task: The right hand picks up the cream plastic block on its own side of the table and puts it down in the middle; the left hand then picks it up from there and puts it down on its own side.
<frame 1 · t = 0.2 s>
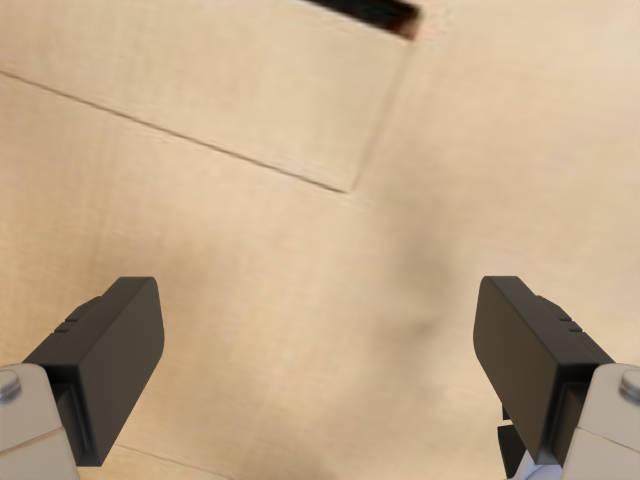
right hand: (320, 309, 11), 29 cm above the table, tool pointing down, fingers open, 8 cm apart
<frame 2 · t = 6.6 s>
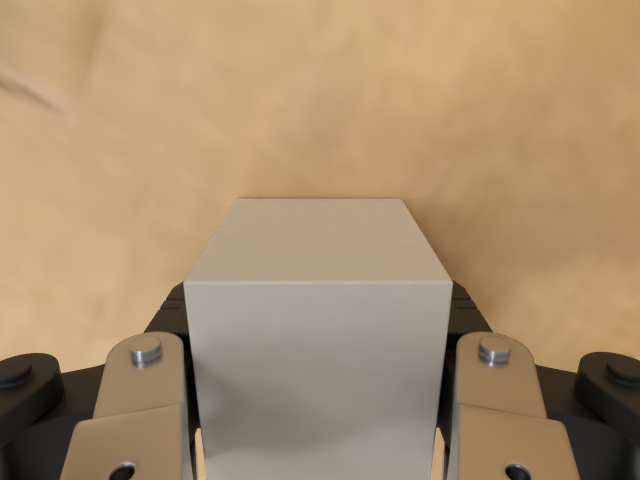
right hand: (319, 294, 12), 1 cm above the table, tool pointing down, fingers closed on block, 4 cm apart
block: (318, 285, 12), on the table, touching right hand
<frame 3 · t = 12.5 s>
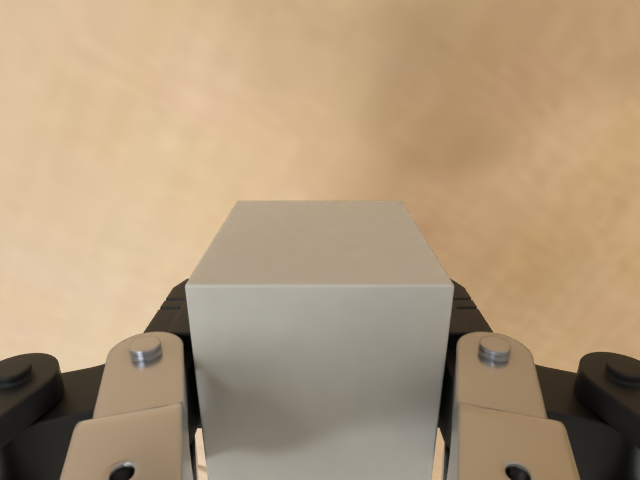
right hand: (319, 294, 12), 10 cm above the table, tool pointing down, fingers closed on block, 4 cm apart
block: (319, 287, 12), point 10 cm above the table, touching right hand
when the right hand's fingers open (1 cm above the table, at t = 18.6 s): block stays where it is, on the table.
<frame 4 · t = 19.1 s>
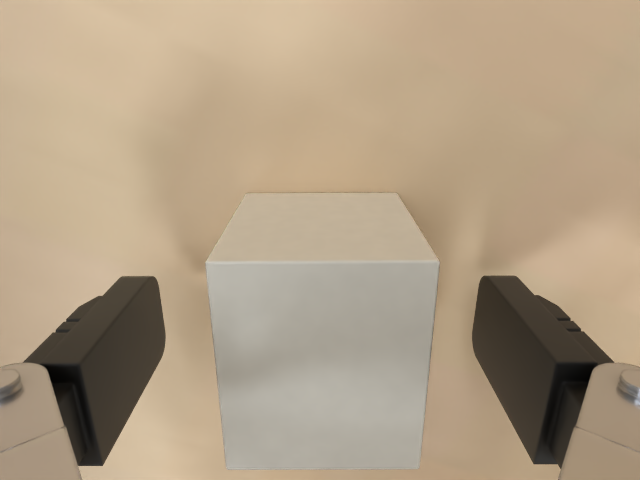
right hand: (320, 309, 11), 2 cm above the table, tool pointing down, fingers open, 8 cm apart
block: (321, 273, 14), on the table
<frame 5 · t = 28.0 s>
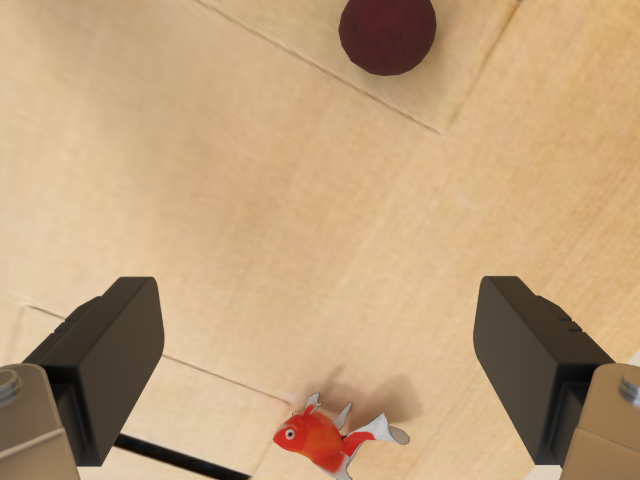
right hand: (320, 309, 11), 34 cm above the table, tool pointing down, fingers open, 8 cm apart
dark red ball: (380, 30, 40), on the table
fish: (343, 409, 55), on the table
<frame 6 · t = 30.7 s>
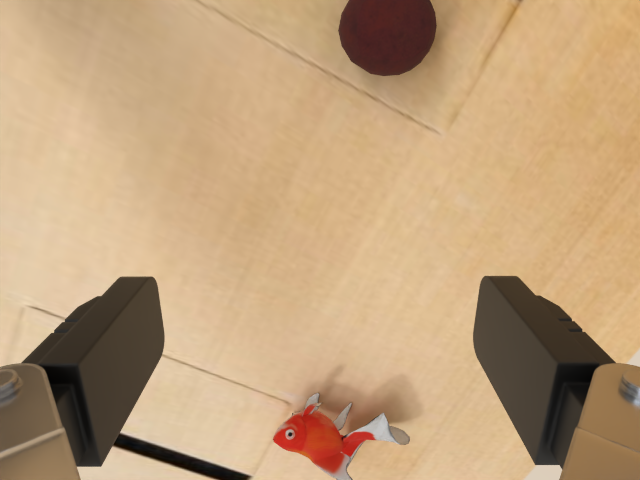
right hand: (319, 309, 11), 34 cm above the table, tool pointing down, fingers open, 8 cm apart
dark red ball: (380, 30, 40), on the table
fish: (343, 409, 55), on the table
when the left hand's fingers open (2 cm above the table, at t = 33.5 s): block stays where it is, on the table.
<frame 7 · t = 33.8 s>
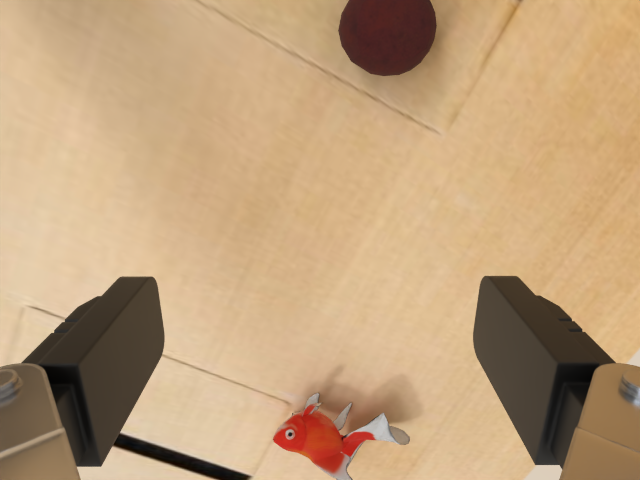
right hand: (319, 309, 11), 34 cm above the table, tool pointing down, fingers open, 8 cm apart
dark red ball: (380, 30, 40), on the table
fish: (343, 409, 55), on the table
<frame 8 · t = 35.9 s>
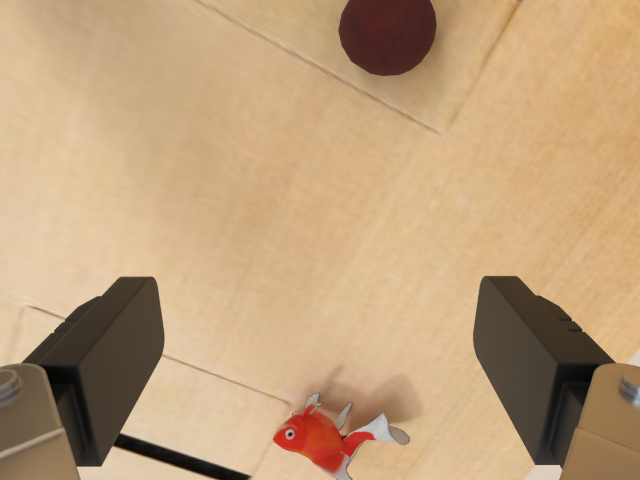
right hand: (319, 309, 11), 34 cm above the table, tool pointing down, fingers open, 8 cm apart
dark red ball: (380, 30, 40), on the table
fish: (343, 409, 55), on the table
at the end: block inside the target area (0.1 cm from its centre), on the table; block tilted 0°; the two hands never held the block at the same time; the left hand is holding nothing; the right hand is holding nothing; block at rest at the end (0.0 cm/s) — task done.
